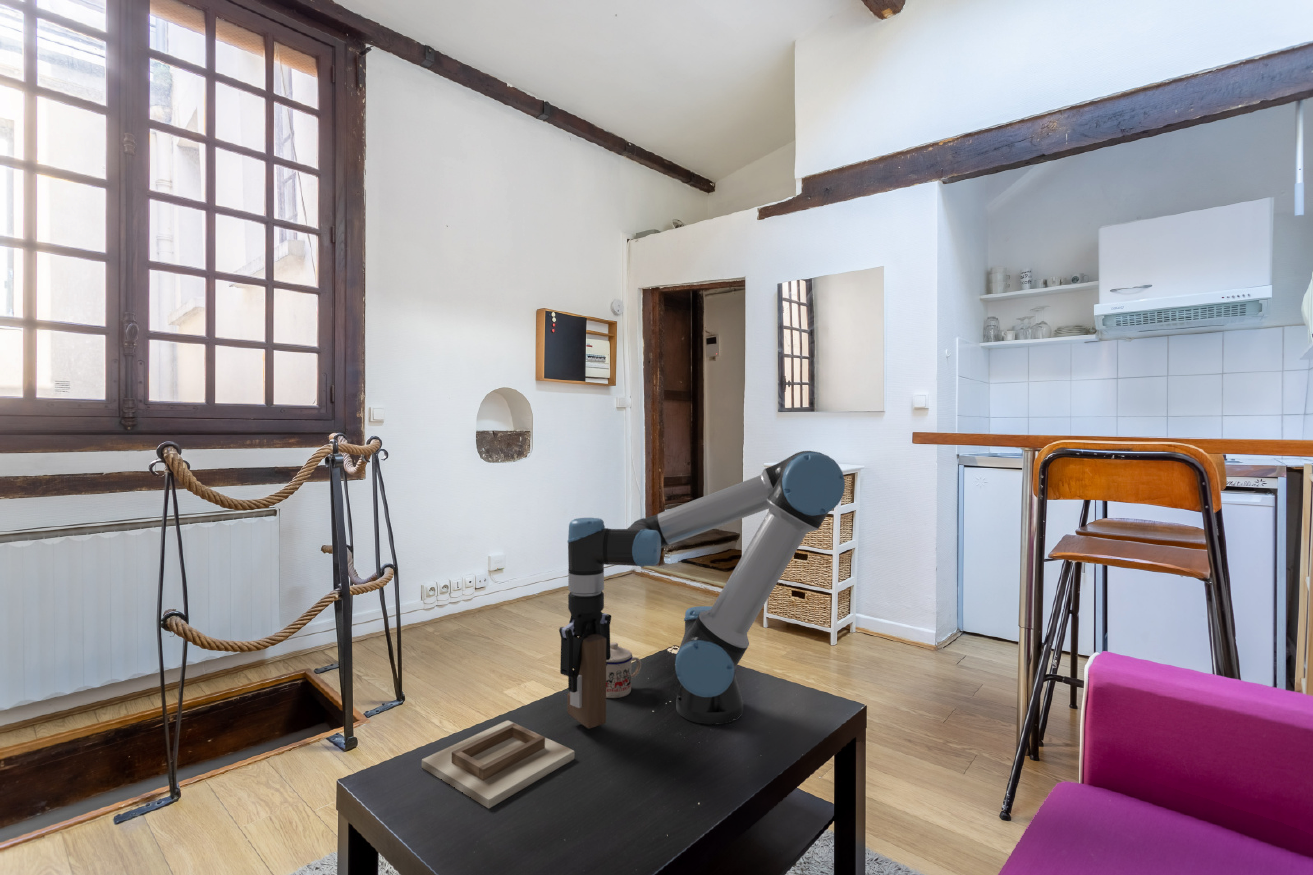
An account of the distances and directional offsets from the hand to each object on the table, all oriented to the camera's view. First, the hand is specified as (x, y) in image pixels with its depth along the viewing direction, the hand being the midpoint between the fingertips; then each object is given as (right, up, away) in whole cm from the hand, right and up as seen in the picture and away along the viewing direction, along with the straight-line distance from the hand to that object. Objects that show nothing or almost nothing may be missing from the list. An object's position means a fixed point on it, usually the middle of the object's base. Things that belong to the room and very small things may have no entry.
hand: (586, 700), depth 130 cm
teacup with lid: (+6, -6, +19) cm, 21 cm away
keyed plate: (-15, -6, -14) cm, 21 cm away
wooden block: (0, -4, 0) cm, 4 cm away
